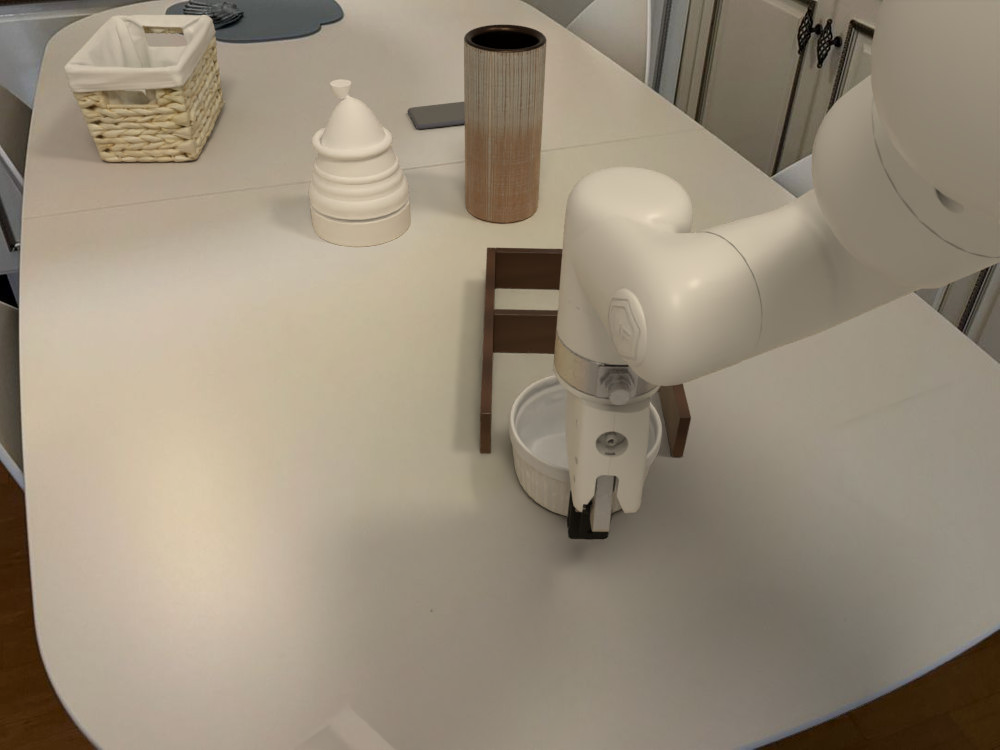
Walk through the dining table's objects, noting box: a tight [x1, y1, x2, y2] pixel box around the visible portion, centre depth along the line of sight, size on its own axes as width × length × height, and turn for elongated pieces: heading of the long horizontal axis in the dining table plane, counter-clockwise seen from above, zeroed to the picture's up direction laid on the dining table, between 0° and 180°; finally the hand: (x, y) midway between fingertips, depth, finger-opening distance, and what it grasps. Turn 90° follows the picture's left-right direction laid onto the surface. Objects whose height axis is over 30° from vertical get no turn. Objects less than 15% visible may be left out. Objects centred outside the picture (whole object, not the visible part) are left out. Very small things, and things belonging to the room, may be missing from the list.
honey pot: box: [308, 78, 411, 248], centre depth 108 cm, size 13×13×18 cm
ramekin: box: [508, 374, 663, 517], centre depth 76 cm, size 13×13×7 cm
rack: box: [479, 247, 692, 458], centre depth 89 cm, size 29×19×5 cm, turn 179°
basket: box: [63, 14, 226, 163], centre depth 129 cm, size 24×16×15 cm
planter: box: [463, 24, 548, 224], centre depth 110 cm, size 10×10×23 cm
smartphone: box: [407, 101, 465, 130], centre depth 141 cm, size 8×1×15 cm
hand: (587, 531), depth 69 cm, fingers closed
